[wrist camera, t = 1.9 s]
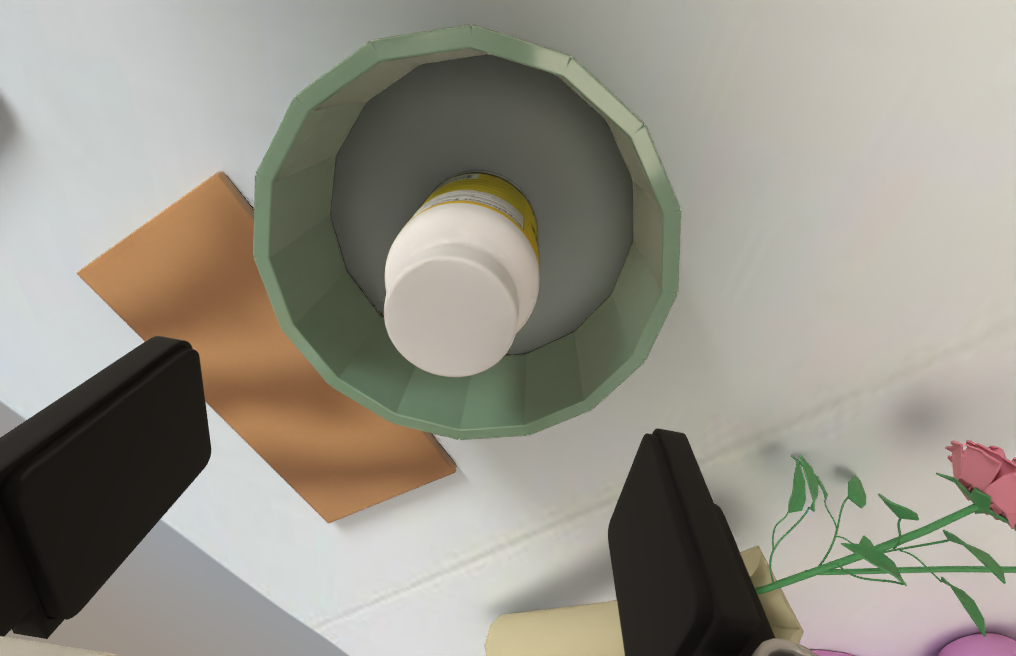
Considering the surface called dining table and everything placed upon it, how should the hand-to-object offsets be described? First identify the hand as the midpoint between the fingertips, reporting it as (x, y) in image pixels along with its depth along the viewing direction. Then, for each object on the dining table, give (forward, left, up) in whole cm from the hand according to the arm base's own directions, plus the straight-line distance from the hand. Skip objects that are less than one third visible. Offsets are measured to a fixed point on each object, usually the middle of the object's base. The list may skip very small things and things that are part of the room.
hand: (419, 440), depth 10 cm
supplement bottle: (0, 0, -15) cm, 15 cm away
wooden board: (+2, -14, -15) cm, 20 cm away
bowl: (0, 0, -15) cm, 15 cm away
